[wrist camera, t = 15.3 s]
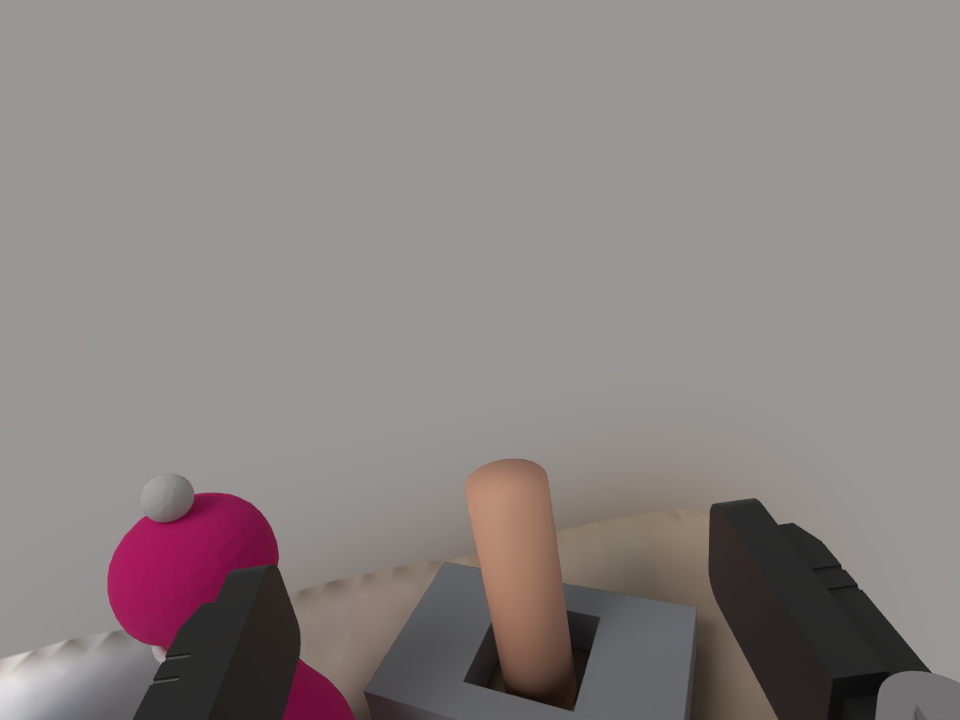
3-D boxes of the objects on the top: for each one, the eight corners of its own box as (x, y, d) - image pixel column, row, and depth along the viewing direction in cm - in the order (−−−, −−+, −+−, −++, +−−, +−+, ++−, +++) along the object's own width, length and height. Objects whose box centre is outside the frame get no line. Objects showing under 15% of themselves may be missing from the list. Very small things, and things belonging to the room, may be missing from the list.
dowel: (496, 710, 33) (450, 502, 28) (519, 651, 36) (483, 455, 31) (566, 730, 31) (532, 513, 26) (584, 666, 35) (557, 462, 29)
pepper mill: (384, 734, 33) (281, 415, 25) (369, 894, 26) (223, 524, 18) (254, 756, 33) (111, 443, 25) (206, 920, 26) (-8, 563, 18)
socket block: (375, 728, 33) (363, 691, 32) (452, 595, 41) (444, 561, 40) (678, 828, 26) (676, 785, 25) (697, 646, 35) (696, 607, 34)
